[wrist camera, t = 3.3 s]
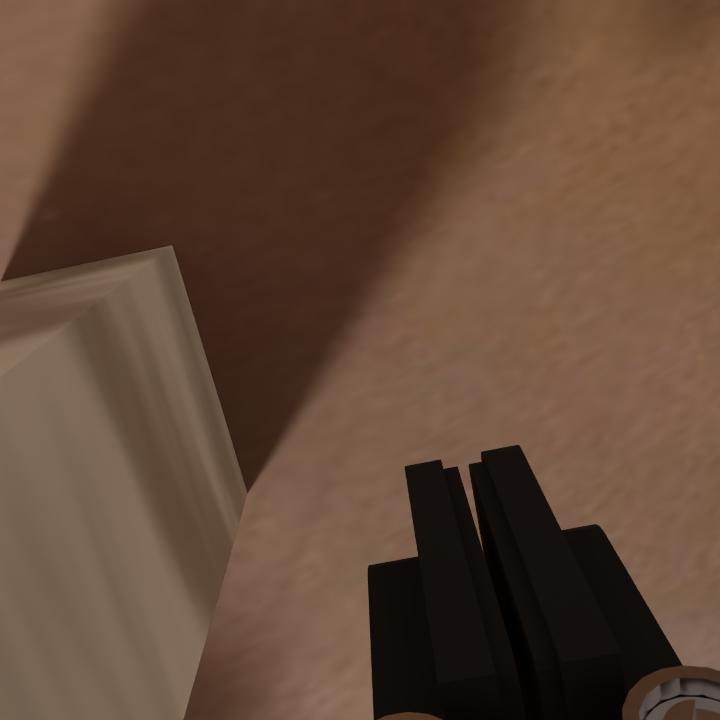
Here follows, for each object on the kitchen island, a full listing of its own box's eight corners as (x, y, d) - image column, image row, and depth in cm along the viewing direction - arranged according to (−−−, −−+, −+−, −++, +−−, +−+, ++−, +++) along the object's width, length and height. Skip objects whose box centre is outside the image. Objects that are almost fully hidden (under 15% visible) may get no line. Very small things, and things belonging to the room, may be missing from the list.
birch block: (172, 245, 19) (-243, 562, 6) (247, 493, 22) (78, 1089, 9) (0, 281, 19) (-757, 658, 6) (95, 521, 22) (-290, 1135, 9)
